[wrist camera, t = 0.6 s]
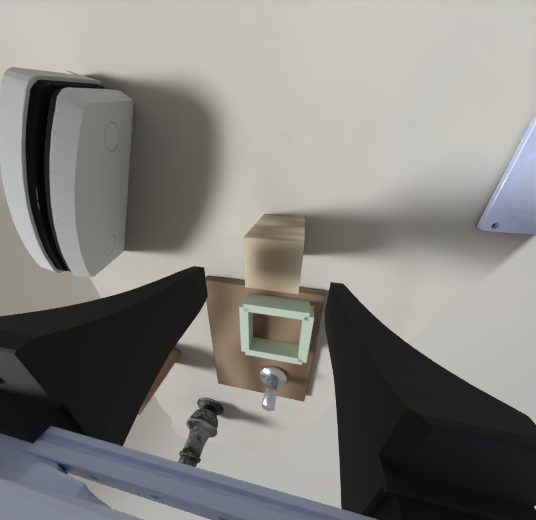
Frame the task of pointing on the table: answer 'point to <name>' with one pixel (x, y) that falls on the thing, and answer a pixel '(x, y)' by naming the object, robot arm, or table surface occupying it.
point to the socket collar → (281, 309)
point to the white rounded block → (66, 167)
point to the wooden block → (161, 376)
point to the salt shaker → (200, 430)
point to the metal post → (271, 384)
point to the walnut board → (257, 336)
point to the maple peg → (274, 253)
